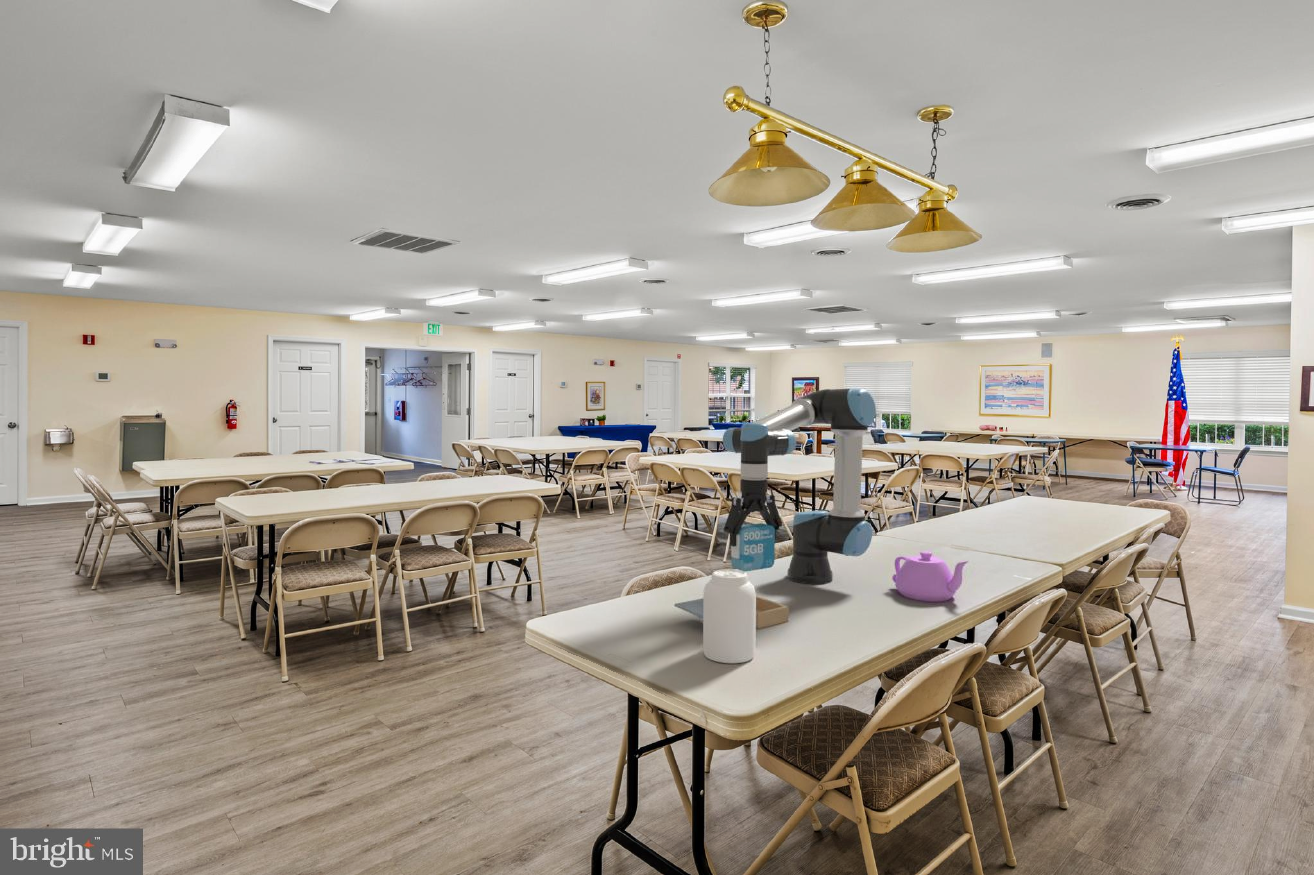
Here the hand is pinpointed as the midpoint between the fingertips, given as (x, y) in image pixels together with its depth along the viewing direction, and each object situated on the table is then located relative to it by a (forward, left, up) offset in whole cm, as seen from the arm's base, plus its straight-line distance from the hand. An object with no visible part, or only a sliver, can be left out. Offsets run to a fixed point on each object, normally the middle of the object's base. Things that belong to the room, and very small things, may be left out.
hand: (753, 555), depth 191 cm
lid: (+15, 0, -13) cm, 20 cm away
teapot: (-60, +14, -18) cm, 64 cm away
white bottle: (+24, +19, -18) cm, 35 cm away
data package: (0, 0, -4) cm, 4 cm away
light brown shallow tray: (0, 0, -17) cm, 17 cm away
